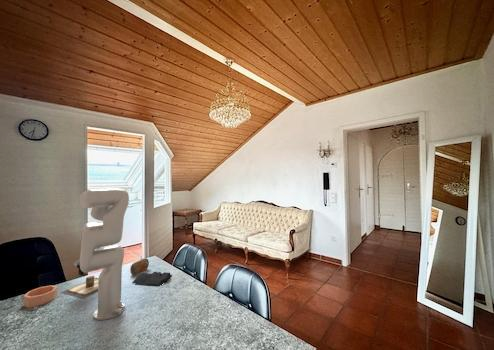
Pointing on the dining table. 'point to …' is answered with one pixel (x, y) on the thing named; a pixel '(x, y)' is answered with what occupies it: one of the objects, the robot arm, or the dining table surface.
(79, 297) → the rubber mat
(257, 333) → the dining table surface
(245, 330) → the dining table surface
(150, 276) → the dark slate chunk
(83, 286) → the beech lid
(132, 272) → the tin
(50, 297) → the terracotta bowl
